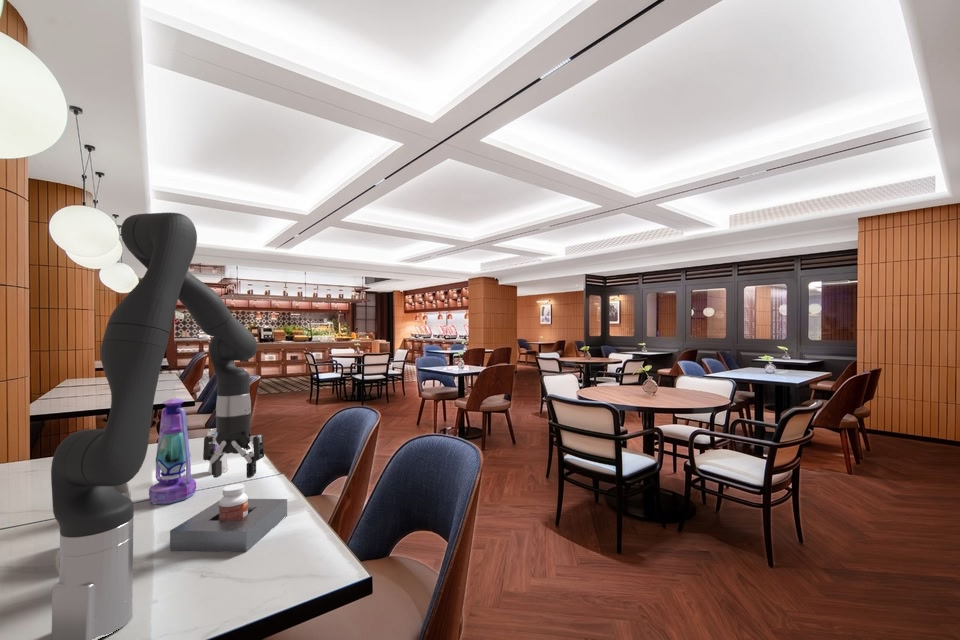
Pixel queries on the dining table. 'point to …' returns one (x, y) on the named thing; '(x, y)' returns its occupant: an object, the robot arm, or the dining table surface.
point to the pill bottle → (233, 503)
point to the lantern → (172, 457)
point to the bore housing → (228, 528)
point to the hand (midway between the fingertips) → (234, 476)
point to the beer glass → (224, 458)
